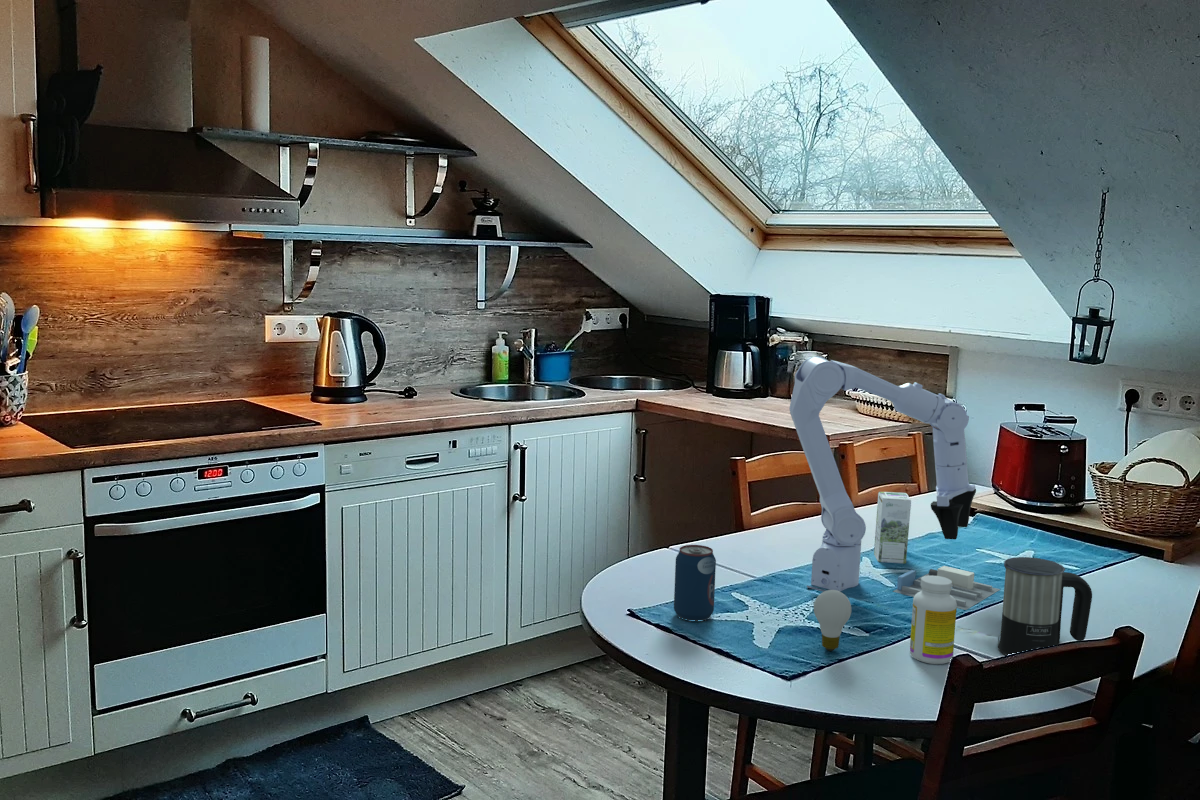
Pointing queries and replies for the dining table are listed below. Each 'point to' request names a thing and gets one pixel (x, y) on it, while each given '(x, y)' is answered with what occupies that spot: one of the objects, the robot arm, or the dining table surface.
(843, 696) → the dining table surface
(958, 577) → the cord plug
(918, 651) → the supplement bottle
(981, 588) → the grey flat ridged plate
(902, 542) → the syrup box
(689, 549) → the soda can
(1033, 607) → the milk frother
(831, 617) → the light bulb
